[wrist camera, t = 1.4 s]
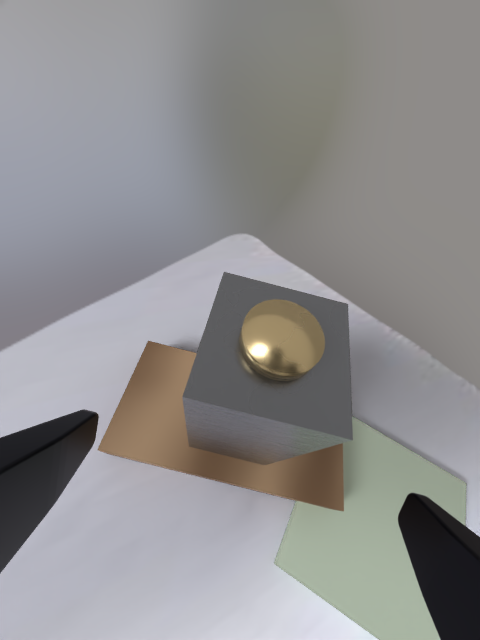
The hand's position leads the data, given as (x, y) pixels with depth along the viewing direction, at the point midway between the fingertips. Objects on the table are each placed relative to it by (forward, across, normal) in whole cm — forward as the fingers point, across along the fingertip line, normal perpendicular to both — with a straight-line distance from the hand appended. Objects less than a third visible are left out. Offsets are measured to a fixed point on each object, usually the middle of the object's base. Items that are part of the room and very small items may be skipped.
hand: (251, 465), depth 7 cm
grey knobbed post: (+8, 0, +4) cm, 9 cm away
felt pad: (+7, -10, +8) cm, 15 cm away
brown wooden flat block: (+10, 0, +5) cm, 11 cm away
